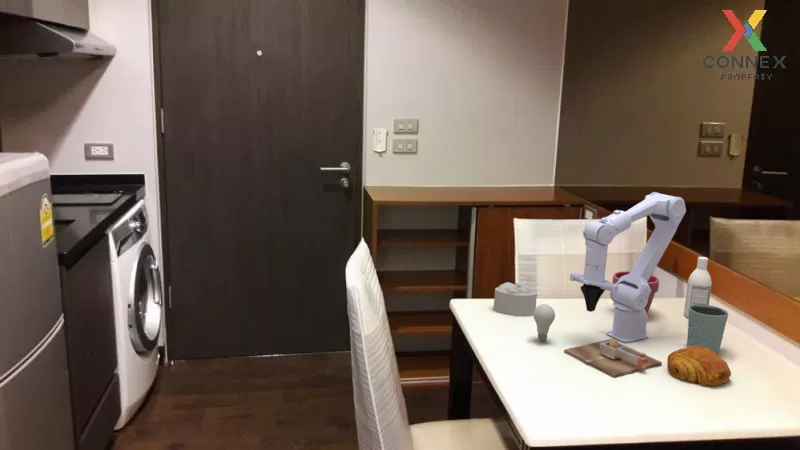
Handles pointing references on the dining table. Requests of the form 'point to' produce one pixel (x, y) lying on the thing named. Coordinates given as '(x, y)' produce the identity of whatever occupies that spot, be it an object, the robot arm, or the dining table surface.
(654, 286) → the plant pot
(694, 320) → the embossed teal cup
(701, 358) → the croissant
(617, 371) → the socket base
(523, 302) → the lumpy-topped squat cylinder
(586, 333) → the dining table surface
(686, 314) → the bath foam
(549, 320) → the lightbulb
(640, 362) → the square frame with handle
